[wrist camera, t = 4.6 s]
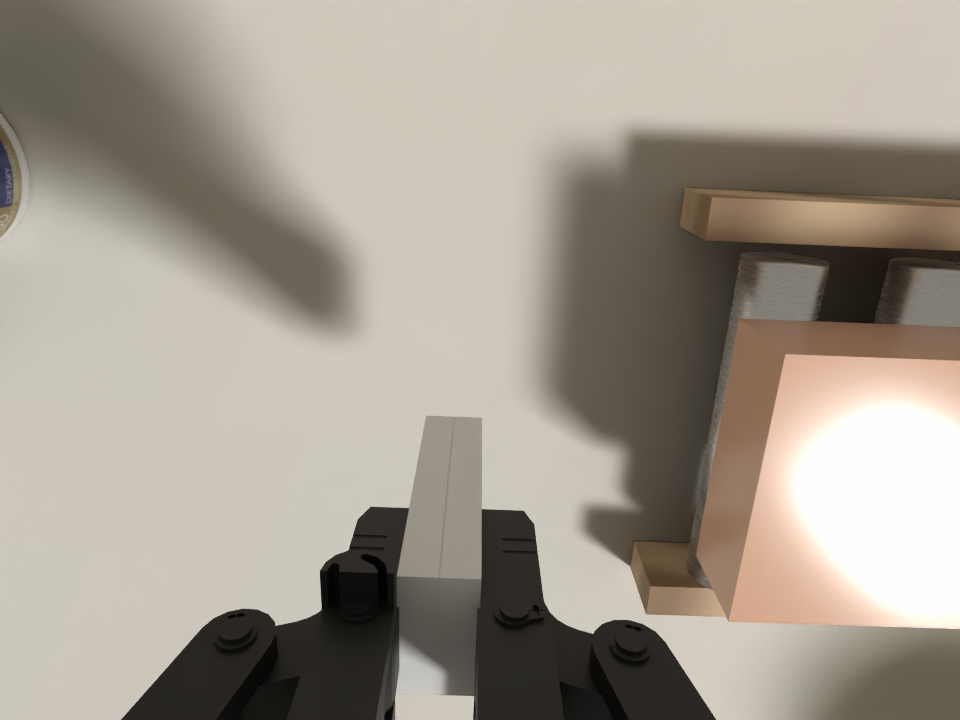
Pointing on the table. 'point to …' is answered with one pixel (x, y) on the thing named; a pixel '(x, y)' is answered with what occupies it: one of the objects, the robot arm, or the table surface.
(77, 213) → the table surface
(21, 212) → the pill bottle
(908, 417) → the slab
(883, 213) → the frame
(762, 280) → the roller bed
